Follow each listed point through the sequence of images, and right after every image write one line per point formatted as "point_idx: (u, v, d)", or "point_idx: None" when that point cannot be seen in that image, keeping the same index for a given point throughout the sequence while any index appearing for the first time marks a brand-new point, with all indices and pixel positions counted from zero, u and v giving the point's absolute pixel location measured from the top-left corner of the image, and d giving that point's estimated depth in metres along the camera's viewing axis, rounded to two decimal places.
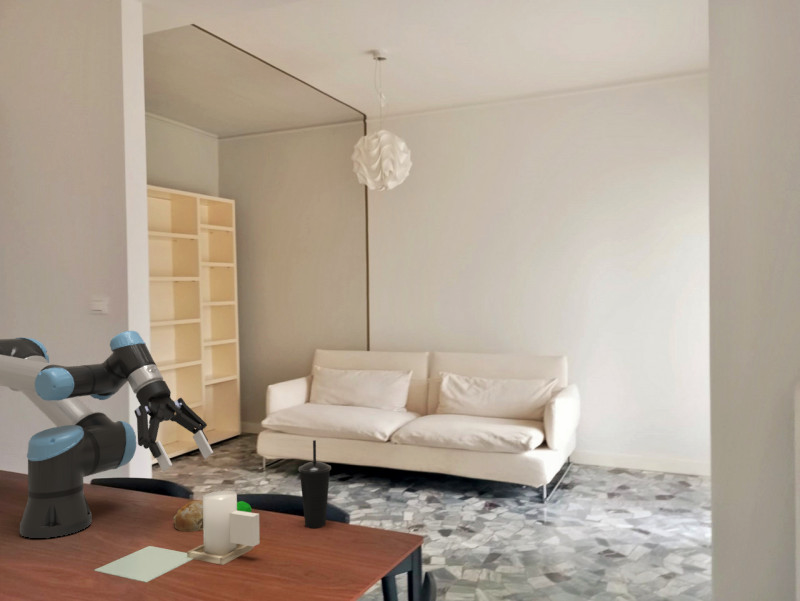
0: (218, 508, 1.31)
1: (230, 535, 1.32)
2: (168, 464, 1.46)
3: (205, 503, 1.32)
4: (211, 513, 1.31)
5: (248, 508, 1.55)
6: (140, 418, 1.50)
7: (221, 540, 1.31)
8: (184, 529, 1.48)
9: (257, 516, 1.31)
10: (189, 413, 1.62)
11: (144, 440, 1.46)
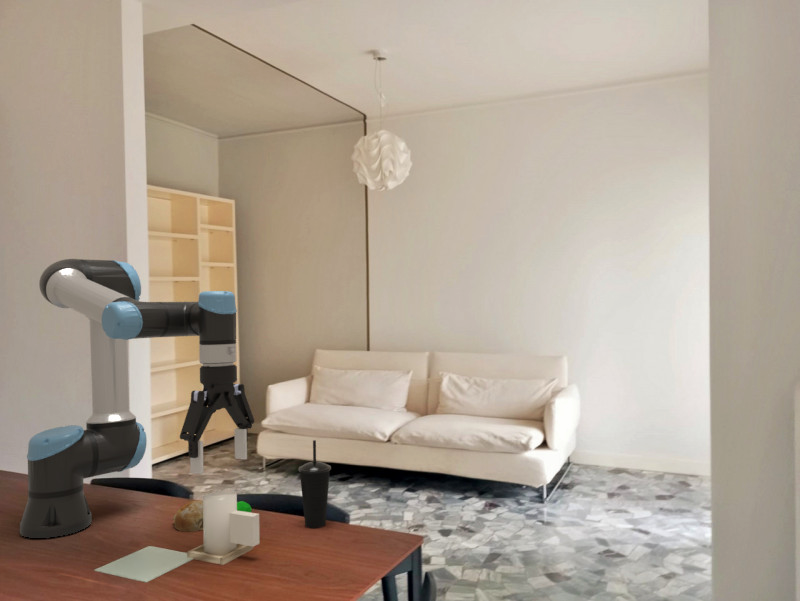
0: (218, 508, 1.31)
1: (230, 535, 1.32)
2: (199, 472, 1.28)
3: (205, 503, 1.32)
4: (211, 513, 1.31)
5: (248, 508, 1.55)
6: (194, 406, 1.28)
7: (221, 540, 1.31)
8: (184, 529, 1.48)
9: (257, 516, 1.31)
10: (243, 404, 1.41)
11: (188, 438, 1.26)
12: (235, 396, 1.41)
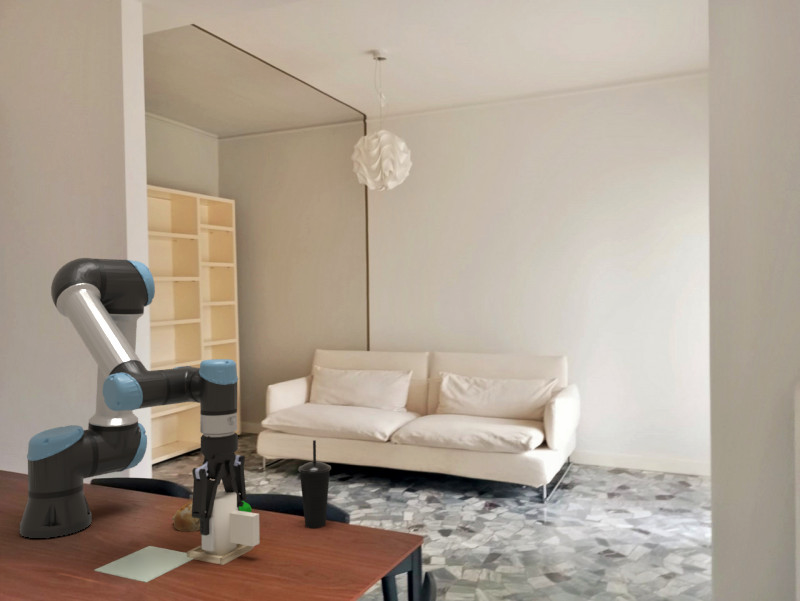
0: (218, 508, 1.31)
1: (230, 535, 1.32)
2: (211, 548, 1.30)
3: None
4: None
5: (248, 508, 1.55)
6: (198, 485, 1.29)
7: (221, 540, 1.31)
8: (183, 529, 1.48)
9: (257, 516, 1.31)
10: (239, 477, 1.39)
11: (200, 517, 1.28)
12: (233, 467, 1.40)
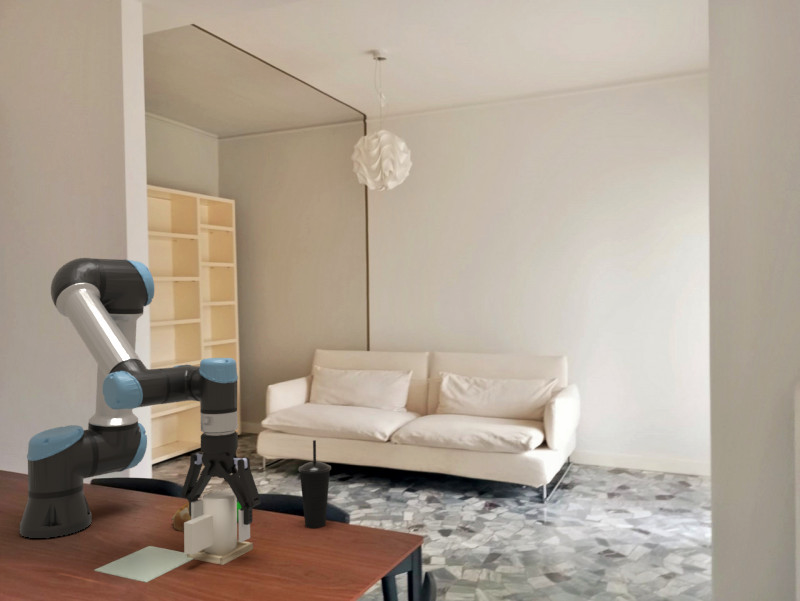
0: None
1: None
2: None
3: None
4: None
5: None
6: None
7: None
8: (183, 529, 1.48)
9: (189, 525, 1.26)
10: None
11: None
12: None
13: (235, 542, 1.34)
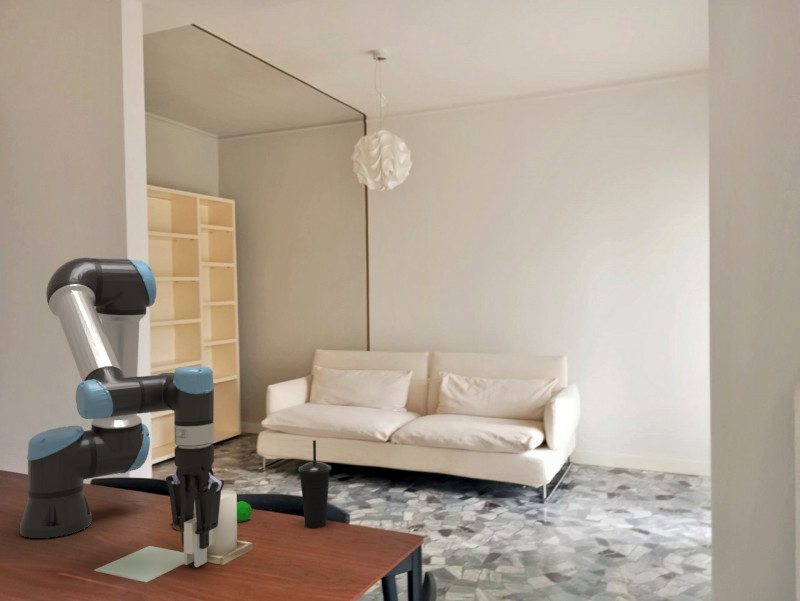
0: None
1: None
2: None
3: None
4: None
5: (248, 508, 1.55)
6: None
7: None
8: None
9: (189, 525, 1.26)
10: None
11: None
12: None
13: (235, 542, 1.34)
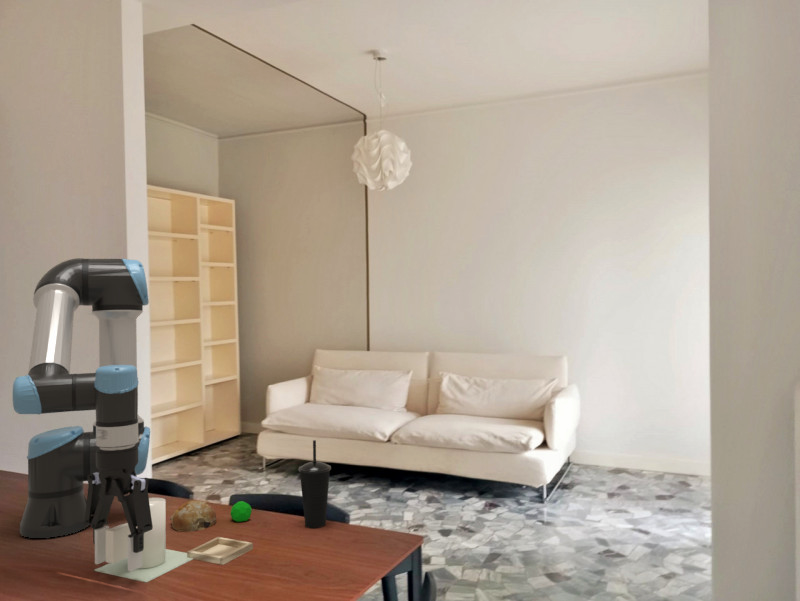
0: None
1: None
2: None
3: None
4: None
5: (248, 508, 1.55)
6: None
7: None
8: (181, 529, 1.49)
9: (110, 533, 1.21)
10: None
11: None
12: None
13: (163, 551, 1.29)
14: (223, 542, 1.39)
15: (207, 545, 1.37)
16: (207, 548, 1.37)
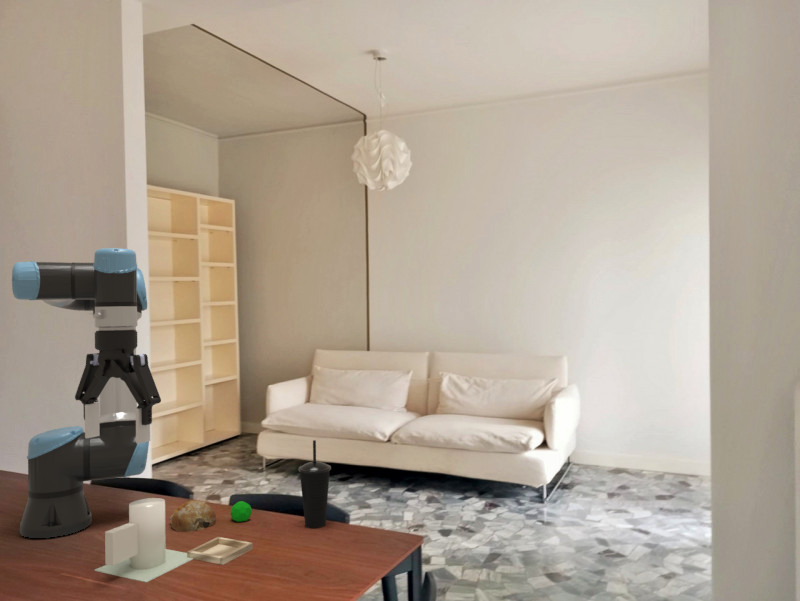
0: None
1: None
2: None
3: None
4: None
5: (248, 508, 1.55)
6: None
7: None
8: (181, 529, 1.49)
9: (110, 534, 1.21)
10: None
11: None
12: None
13: (162, 551, 1.29)
14: (223, 542, 1.39)
15: (207, 545, 1.37)
16: (207, 548, 1.37)
